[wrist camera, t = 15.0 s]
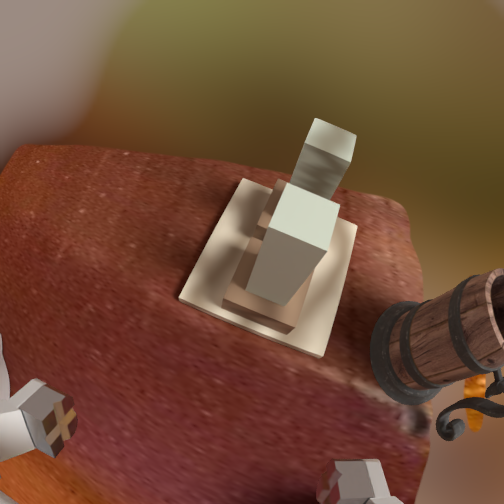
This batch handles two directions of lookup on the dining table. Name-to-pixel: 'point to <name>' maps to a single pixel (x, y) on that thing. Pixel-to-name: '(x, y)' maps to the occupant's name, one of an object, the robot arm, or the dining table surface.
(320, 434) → the dining table surface
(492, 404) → the tankard
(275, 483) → the dining table surface
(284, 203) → the sage column
